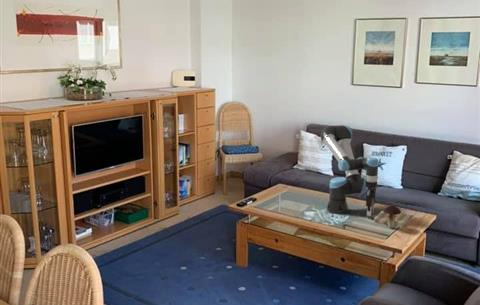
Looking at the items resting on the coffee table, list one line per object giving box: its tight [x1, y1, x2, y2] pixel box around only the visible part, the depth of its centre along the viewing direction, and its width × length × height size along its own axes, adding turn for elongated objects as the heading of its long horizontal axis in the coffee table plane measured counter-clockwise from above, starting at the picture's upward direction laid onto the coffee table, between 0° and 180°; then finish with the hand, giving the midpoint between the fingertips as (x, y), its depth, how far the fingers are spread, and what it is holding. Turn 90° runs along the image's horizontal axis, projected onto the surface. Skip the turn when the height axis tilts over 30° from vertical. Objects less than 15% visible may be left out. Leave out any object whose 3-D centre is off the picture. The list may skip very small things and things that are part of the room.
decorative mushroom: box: [382, 204, 402, 229], centre depth 315 cm, size 11×11×15 cm
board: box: [373, 210, 410, 228], centre depth 330 cm, size 18×18×3 cm
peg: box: [366, 198, 375, 220], centre depth 334 cm, size 4×4×14 cm
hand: (370, 214), depth 335 cm, fingers open, 4 cm apart
